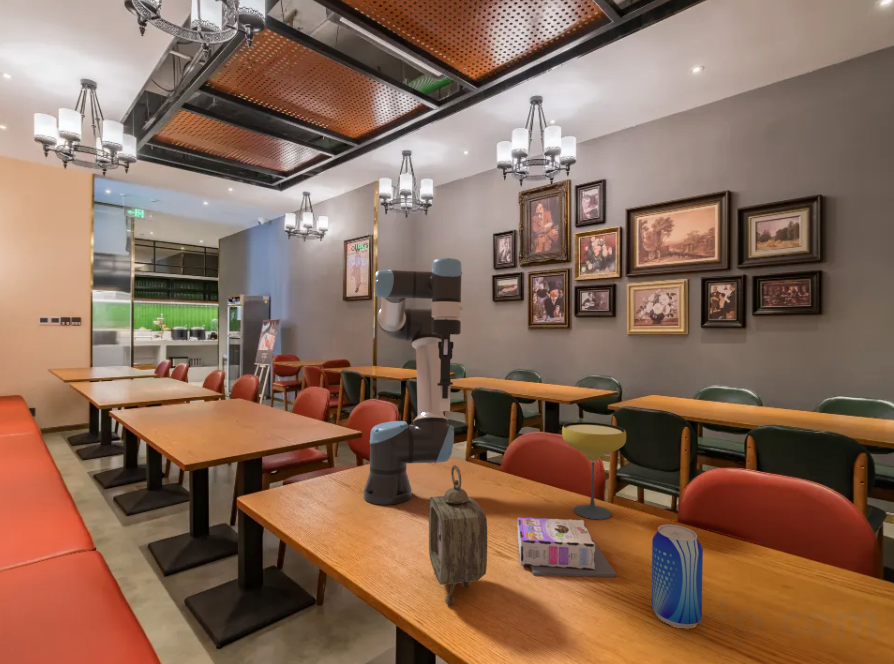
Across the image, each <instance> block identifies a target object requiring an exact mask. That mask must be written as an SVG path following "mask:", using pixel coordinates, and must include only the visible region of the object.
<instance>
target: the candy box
mask: <svg viewBox="0 0 894 664" xmlns="http://www.w3.org/2000/svg"><path fill="white" fill-rule="evenodd" d="M593 541H594V539H593V538H592V536H591V534H590V533H589V530H588V527H587V526H586V524H585V521H584V520H583V519H571V518H570V519H569V518H568V519H567V518H547V517H546V518H543V517H520V516H519V517H517V542H518V551H519V552H518V553H519V560H520V566H529V567H530V566H548V567H563V568H579V569H594V570H595V544H596V543H595V544H594V543H593Z"/></svg>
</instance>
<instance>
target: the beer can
mask: <svg viewBox="0 0 894 664" xmlns="http://www.w3.org/2000/svg"><path fill="white" fill-rule="evenodd" d="M651 542H652V543H651V544H652V545H651V546H652V547H651V597H650V598H651V601H650V602H651V603H650V604H651V608H652V610H653V612H654V613H655V616H656V617H657V618H658V619H659V620H660V621H661V622H662V621H663V622H662V623H664V622H665V623H667V624H669V625H672V626H675V627H679V628H691V627H694V626H695V627H696V626H697V625H698V624H699V623H700V622H702V618H703V571H704V570H703V565H704V564H703V563H704V560H703V559H704V558H703V554H704V553H703V552H704V549H703V546H702V544H701V543H700V541H699V539H698V534H697V532H696V531H694V530H692V529H691V528H688V527H686V526H682V525H678V524H662V525H659V526H658V527H657V531H656V532H655V534H654V536H653V537H652V541H651ZM665 623H664V624H665ZM667 624H666V625H667ZM669 625H668V626H669ZM672 626H671V627H672ZM675 627H674V628H675ZM695 627H694V628H695ZM679 628H678V629H679Z"/></svg>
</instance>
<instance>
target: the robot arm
mask: <svg viewBox="0 0 894 664" xmlns="http://www.w3.org/2000/svg"><path fill="white" fill-rule="evenodd" d="M462 275H463V272H462V262H461V260H459V259H457V258H452V257H451V258H450V257H443V258H442V257H441V258H436V259H434V260H433V261H432V269H431V271H425V270H421V271H419V270H397V269H381V270H380V269H379V270H377V271H376V272H375V275H374V280H375V281H374V289H375V290H374V296H376V297H377V298H380V299H381V301H380V303H381V304H380V306H381V307H380V309H379V311H378V312H377V313H378V314H377V325H378V326H379V328H380V330H381V331H382V332H383V333H384V334H385V335H387V336H389V337H390V338H391V339H394V340H398V341H407V342H411V347H412V348H413V349H415V352H416V354H415V355H416V357H415V359H416V360H415V361H416V396H417V398H416V399H417V400H416V401H417V416H416V417H415V418H414V419H413V421H412V425H411V426H410V425H409V424H408V423H407V421H404V420H392V421H387V422H382V423H378V424H376V425H374V426H373V427H372V428H371V430H370V437H369V438H370V439H369V445H370V447H369V451H370V452H369V473H368V476H367V479H366V483H365V486H364V489H363V500H364V501H366V502H368V503H370V504H373V505H382V506H389V505H390V506H391V505H398V504H402V503H406V502H408V501H409V500H410V499H411V498H412V495H413V494H412V492H413V491H412V486H411V483H410V479H409V476H408V473H407V465H408V464H429V463H430V464H432V463H433V464H439V463H446V462H448V461H450V459H451V456H452V453H453V448H454V443H455V442H454V441H455V438H454V437H455V431H454V429H455V428H454V426H453V425H451V424H450V425H449V419H448V418H447V417H446V416H445V415H444V412H451V386H453V385H454V384H453V383H454V382H453V381H451V360H452V359H453V349H454V341H451V335H454V336H457V335H460V334H461V329H462V327H461V326H462V324H461V323H462V322H461V320H460V318H461V315H462V313H461V311H463V310H464V307H463V306H462V305H461V303H462ZM407 299H424V300H425V299H429V300H430V299H431V308H406V304H407Z"/></svg>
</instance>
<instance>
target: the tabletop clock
mask: <svg viewBox="0 0 894 664" xmlns="http://www.w3.org/2000/svg"><path fill="white" fill-rule="evenodd" d="M454 471H456V473H457V476H458V479H455V475H454ZM450 473H451V474H450V475H451V481H452V484H453V487H451V488H448V489H447V490H446V491H445V493H444V495H440V496H439V495H438V496H430V497H429V505H428V506H429V509H428V511H429V512H428V553H429V560H430V564H431V565H432V569H433V574H434V575H435V577H436V580H437V581H438V584H439V585H443V586H444V585H450V588H449V593H448V594H449V595H447V596H445V599H444V601H445V605H447V606H451V605H453V603H454V597H453V596H452V595H453V593H454V591H455V588H456V585H457V584H459V583H461V586H462V588H468V587H469V585H470V582H475V581H476V582H477V581H479V580H481V578H482V577H484V576H485V575H486V574H487V573H486V572H487V569H488V568H487V566H488V521H487V516H486V514H485V512H484V510H483V509H482V507H481V506H480V504H479V503H478V502H477V501H476V500H475V498H472V497H471V496H468V493H467V492H466V491H465V490H464V488H461V487H462V473H461V470H460V468H459V467H458V466H457V465H456V464H453V465H452V467H451V472H450Z"/></svg>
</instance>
